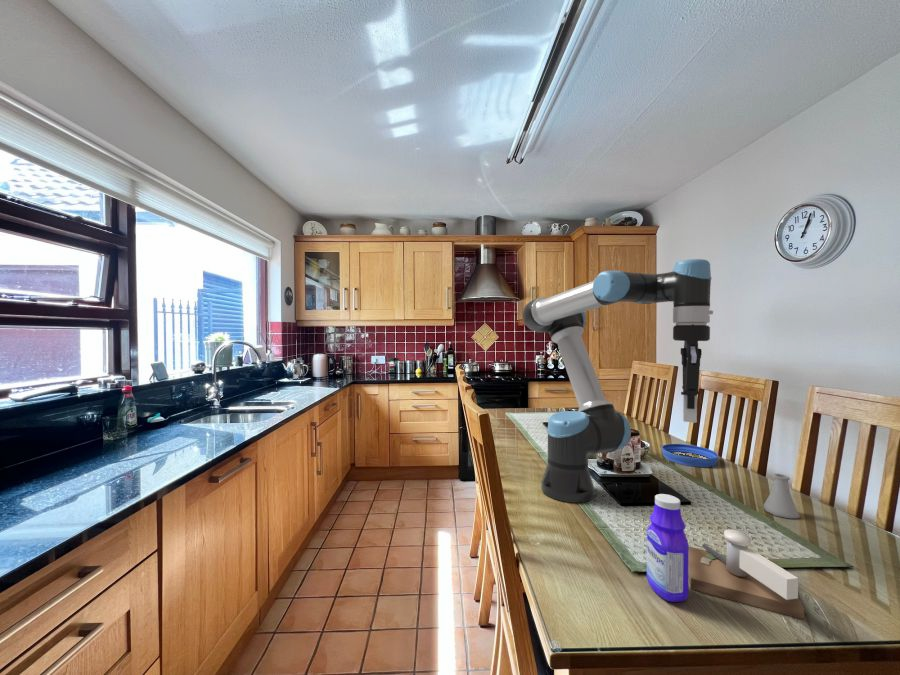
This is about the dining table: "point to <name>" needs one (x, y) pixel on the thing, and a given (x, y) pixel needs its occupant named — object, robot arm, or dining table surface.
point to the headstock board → (736, 585)
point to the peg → (755, 565)
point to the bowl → (688, 459)
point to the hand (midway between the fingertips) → (689, 421)
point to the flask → (781, 499)
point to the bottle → (667, 550)
